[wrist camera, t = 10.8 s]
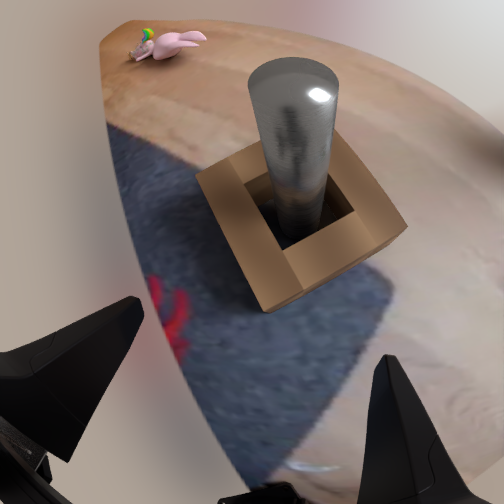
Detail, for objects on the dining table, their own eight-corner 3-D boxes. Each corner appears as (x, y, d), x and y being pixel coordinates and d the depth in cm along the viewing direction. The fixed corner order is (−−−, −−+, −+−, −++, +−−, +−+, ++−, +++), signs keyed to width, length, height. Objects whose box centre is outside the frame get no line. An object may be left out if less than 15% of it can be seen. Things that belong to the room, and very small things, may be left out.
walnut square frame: (270, 313, 19) (263, 311, 15) (212, 199, 22) (194, 174, 18) (389, 244, 18) (408, 226, 14) (318, 145, 21) (320, 113, 17)
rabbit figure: (128, 73, 32) (192, 66, 26) (108, 48, 27) (169, 30, 20) (154, 49, 33) (222, 40, 26) (136, 25, 27) (204, 5, 21)
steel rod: (291, 246, 20) (276, 124, 7) (271, 213, 20) (233, 75, 8) (326, 227, 19) (357, 92, 7) (305, 195, 20) (305, 49, 8)
